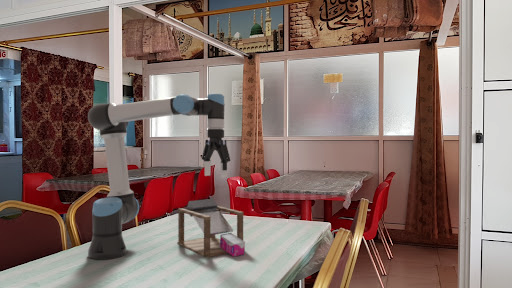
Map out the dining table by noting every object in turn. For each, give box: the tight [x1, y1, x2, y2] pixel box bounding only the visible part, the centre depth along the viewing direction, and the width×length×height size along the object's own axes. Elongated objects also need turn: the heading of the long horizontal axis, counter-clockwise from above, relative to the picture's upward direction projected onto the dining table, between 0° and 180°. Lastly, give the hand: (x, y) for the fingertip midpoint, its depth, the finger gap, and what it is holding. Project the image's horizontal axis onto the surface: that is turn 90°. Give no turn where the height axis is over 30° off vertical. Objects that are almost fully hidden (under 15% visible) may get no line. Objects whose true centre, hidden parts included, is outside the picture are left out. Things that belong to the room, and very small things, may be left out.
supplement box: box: [219, 232, 246, 257], centre depth 171 cm, size 6×6×12 cm
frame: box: [176, 205, 246, 258], centre depth 180 cm, size 28×19×17 cm
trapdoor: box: [186, 198, 234, 236], centre depth 180 cm, size 20×15×5 cm
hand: (215, 176), depth 175 cm, fingers open, 13 cm apart
